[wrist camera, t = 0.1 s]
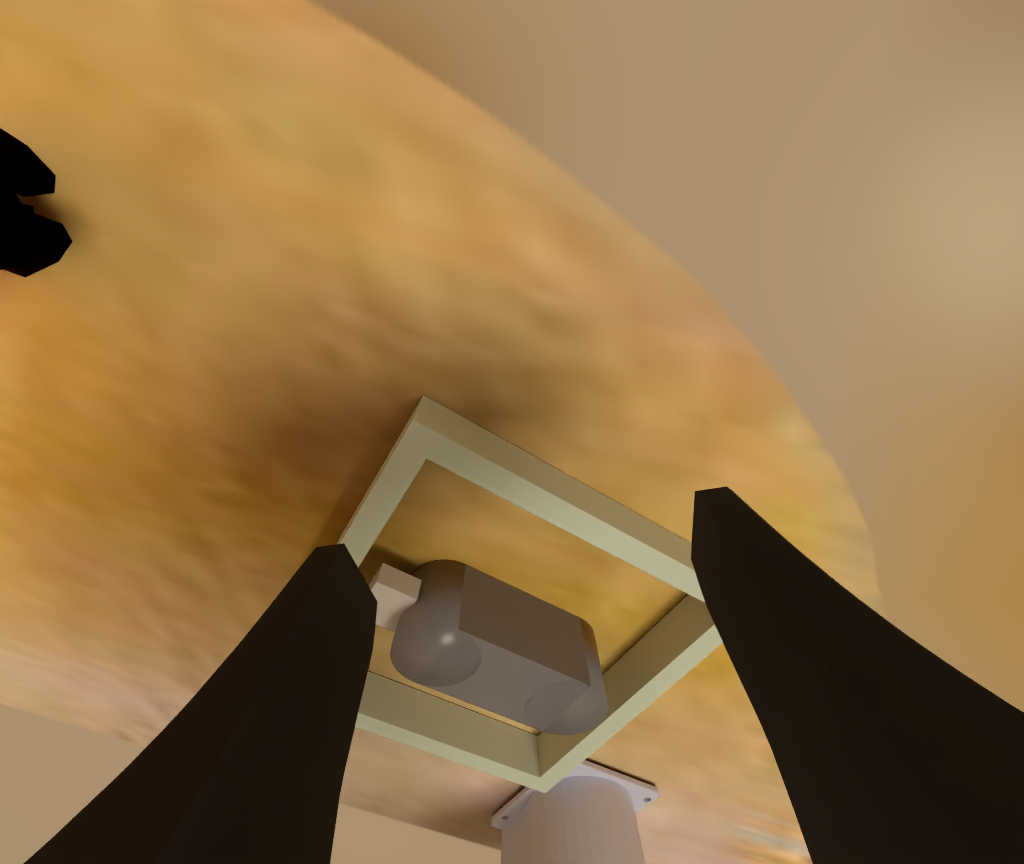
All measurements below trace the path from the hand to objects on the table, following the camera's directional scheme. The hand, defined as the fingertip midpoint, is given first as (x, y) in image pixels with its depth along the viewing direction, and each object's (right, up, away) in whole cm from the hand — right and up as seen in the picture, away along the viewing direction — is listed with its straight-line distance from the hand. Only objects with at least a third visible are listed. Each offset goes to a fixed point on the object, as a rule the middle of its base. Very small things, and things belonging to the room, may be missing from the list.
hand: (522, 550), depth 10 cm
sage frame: (-1, -7, +15) cm, 17 cm away
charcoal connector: (-1, -7, +15) cm, 17 cm away
